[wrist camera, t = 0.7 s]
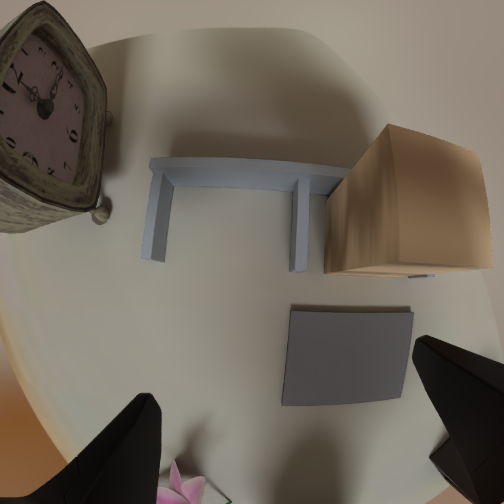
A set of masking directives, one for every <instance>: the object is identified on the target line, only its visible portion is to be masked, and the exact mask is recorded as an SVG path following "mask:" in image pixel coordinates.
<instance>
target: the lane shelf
mask: <svg viewBox="0 0 504 504" xmlns="http://www.w3.org/2000/svg"><path fill="white" fill-rule="evenodd" d="M149 168H150V170H151V171H152V172H153V177H152V183H151V188H150V194H149V200H148V206H147V213H146V220H145V227H144V235H143V243H142V252H141V258H142V259H146V260H150V261H155V262H165V251H166V242H167V233H168V225H169V217H170V209H171V202H172V195H173V189H174V186H201V187H228V188H248V189H264V190H277V191H290V192H293V210H292V234H291V253H290V270H289V272H303V271H307V252H308V226H309V193H312V194H322V195H331V194H332V193H333V192H334V191H335V189H336V188H337V187H338V186H339V184H340V183H341V182H342V181H343V180H344V178H345V177H346V176H347V175H348V173H349V172H350V171H351V170H352V169H349V168H342V167H335V166H327V165H319V164H310V163H301V162H290V161H278V160H265V159H248V158H222V157H164V158H151V160H150V164H149ZM427 277H435V274H425V275H413V276H409V278H427Z"/></svg>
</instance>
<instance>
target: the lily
mask: <svg viewBox="0 0 504 504" xmlns="http://www.w3.org/2000/svg"><path fill="white" fill-rule="evenodd" d="M205 484H206V479H205V477H203V476H198V477H195V478H192V479H189V480H187V481H185V482H184V483H183V482H182V479H181V477H180V474H179V471H178V468H177V465H176V462H175V460H174V461H173V462H172V465H171V471H170V489H168V488H165V487H160V486H158V490H157V502H156V504H201V500H202V496H203V493H204V489H205ZM231 503H232V501H229V502H228V503H226V504H231Z"/></svg>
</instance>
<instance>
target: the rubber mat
mask: <svg viewBox="0 0 504 504" xmlns="http://www.w3.org/2000/svg"><path fill="white" fill-rule="evenodd" d="M413 317H414V312H318V311H294V310H291V312H290V324H289V336H288V347H287V357H286V367H285V377H284V386H283V395H282V406H317V405H339V404H352V403H363V402H372V401H380V400H388V399H395V398H400V397H401V393H402V388H403V383H404V378H405V373H406V368H407V362H408V356H409V350H410V343H411V335H412V327H413Z"/></svg>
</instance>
